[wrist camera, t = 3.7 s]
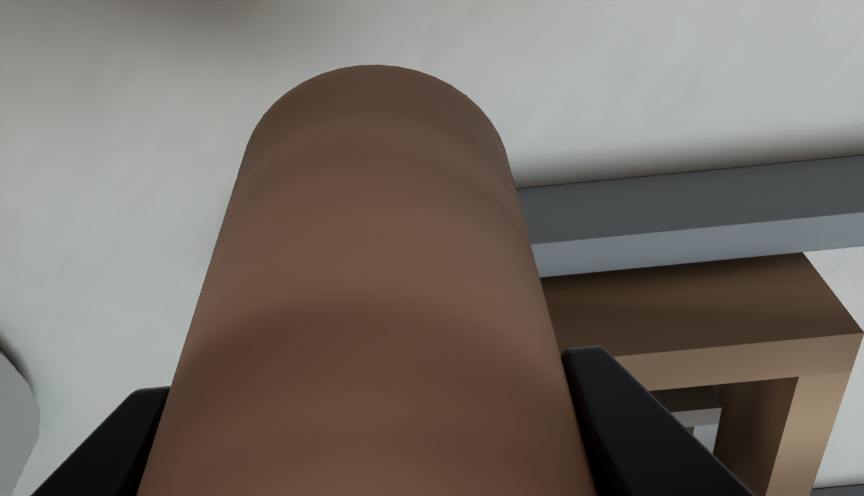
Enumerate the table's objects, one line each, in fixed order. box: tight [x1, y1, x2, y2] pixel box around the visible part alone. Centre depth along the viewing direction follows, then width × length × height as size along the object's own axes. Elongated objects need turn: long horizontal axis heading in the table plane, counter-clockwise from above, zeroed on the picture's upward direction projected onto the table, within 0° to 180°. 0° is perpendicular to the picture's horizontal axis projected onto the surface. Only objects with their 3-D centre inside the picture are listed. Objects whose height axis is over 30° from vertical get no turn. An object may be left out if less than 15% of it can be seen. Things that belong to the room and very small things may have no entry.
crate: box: [539, 252, 864, 496], centre depth 22 cm, size 12×12×4 cm
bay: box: [516, 155, 864, 496], centre depth 23 cm, size 15×27×4 cm, turn 95°
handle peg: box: [137, 65, 598, 496], centre depth 7 cm, size 4×4×10 cm
